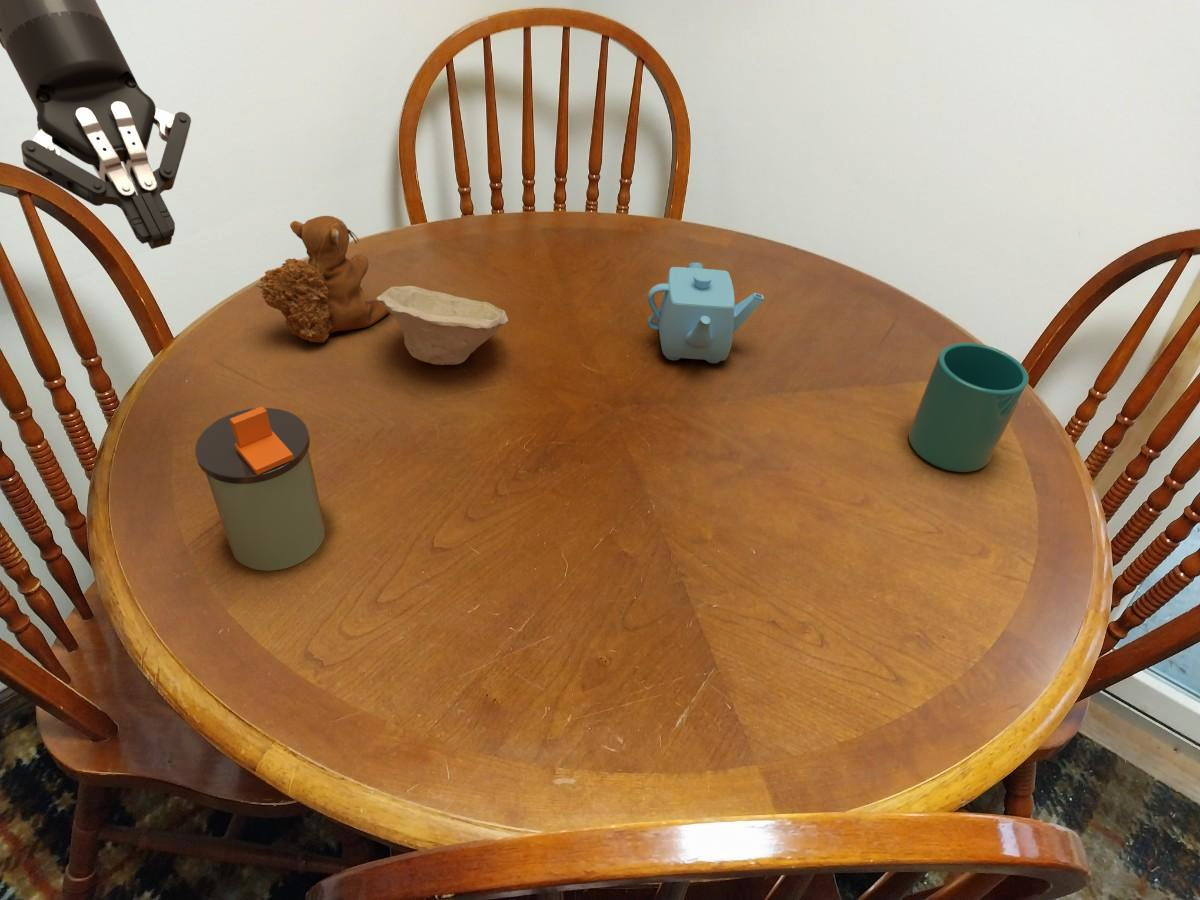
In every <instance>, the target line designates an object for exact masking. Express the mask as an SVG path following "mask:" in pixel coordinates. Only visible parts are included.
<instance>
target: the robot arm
mask: <svg viewBox="0 0 1200 900" xmlns="http://www.w3.org/2000/svg"><path fill="white" fill-rule="evenodd" d="M0 45H1V47H2V49H4V50H5V51H6V54H7V55H8V57H9V60H10V61H11V63H12V65H13V68H15V71H16V73H17V75H18V77H19V79H20V81H21V83H22V84H23V86H24V88H25V91H26V92H27V94H28V96H29V98H30V100H31V102H32V104H33V106H34V108H35V110H36V122H37V123H36V124H37V125H36V126H37V130H38V131H37V132H36V134H34V135H35V136H33V138H32V139H27V140H24V141H22V142H21V145H20V148H21V156H22V163H23V165H24V167H26V168H27V169H28V170H31V172H34V173H36V174H38V175H40V176H42V177H43V178H45V179H47V180H48V181H49V182H51V183H53V184H55V185H57V186H59V187H61V188H63V189H64V190H66V191H68V192H70V193H71V194H73V195H75V196H76V197H79V198H80V199H82V200H84V201H86V202H87V203H89V204H91V205H93V206H95V207H102V206H104V205H113V206H116V207H118V208H119V209H120V210H121V211H122V213H123V215H124V217H125V219H126V220H127V221H126V222H127V223H128V224H129V226H130V228H131V230H132V232H133V234H134V236H135V238H136V240H137V241H139V243H141V245H144V244H148V246H149V247H150V249H151V250H153V249H158V248H161V247H164V246H168V245H171V243H172V239H173V236H174V234H175V230H176V224H175V221H174V218H173V217H172V215H171V212H170V211H169V209H168V207H167V205H166V202H165V201H164V199H163V197H162V195H161V194H162V193H163V192H165V191H170V190H172V189H173V187H174V184H175V180H176V178H177V174H178V171H179V168H180V164H181V161H182V157H183V154H184V150H185V146H186V144H187V140H188V137H189V132H190V129H191V124H192V119H191V117H190V115H189V114H188V113H186V112H185V111H178V112H176V113H175V114H173V113H170V112H169V111H166V110H163V109H161V108H158V107H157V106H156V104H155V101H154V100H153V99H152V98H151V96H150V95H148V94H147V93H146V92H144V91H143V90H142V89H141V87H140V85H139V84H138V82H137V80H136V77H135V76H134V74H133V72H132V70H131V68H130V66H129V63H128V62H127V60H126V58H125V56H124V54H123V52H122V50H121V48H120V46H119V44H118V42H117V40H116V38H115V36H114V34H113V32H112V30H111V28H110V26H109V24H108V22H107V20H106V18H105V15H104V14H103V11H102V10H101V8H100V6H99V4H98V2H97V0H0ZM154 125H155V126H156V127H157V129H158V136H159V138H160V139H161V140H162V141H164V142H165V143H166V144H165V147H164V151H163V154H162V157H161V159H160V164H159V167H157V168H156V169H155V170H154V171H153V169H152V167H151V165H150V162H149V158H148V155H147V149H148V146H149V142H150V140H151V139H150V138H151V134H152V130H153V127H154ZM60 149H62V150H63V151H65V152H66V153H68V154H70V155H71V156H73V157H75V158H76V159H78V160H80V161H81V162H83V163H84V164H87V165H88V166H89V165H90V166H92V167H93V170H94V171H95V173H96V174H97V175H98V177H97V175H95V174H93V173H91V172H90V171H87V170H86V169H84V168H82V167H81V166H79V165H77V164H76V163H74V162H72V161H70V160H68V159H67V158H65V157H63V156H62V151H61V150H60ZM122 164H123V165H122Z"/></svg>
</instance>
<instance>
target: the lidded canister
mask: <svg viewBox="0 0 1200 900" xmlns="http://www.w3.org/2000/svg"><path fill="white" fill-rule="evenodd" d="M256 408H257V407H255V408H254V407H253V408H248V409H243V410H239V411H236V412H233V413H230V414H227V415H225V416H223V417H221V418H219V419H217V420H215V421H213V423H211V424H210V425H208V426H207V427H206V428H205V429H204V430H203V431H202V433H201V434H200V435H199V436H198V438H197V440H196V443H195V450H194V452H195V453H194V454H195V458H196V462H197V464H198V467H199V468H200V469H201V471H203V472H204V473H205V475H206V479H207V482H208V484H209V485H208V486H209V487H210V491H211V494H212V497H213V500H214V503H215V506H216V508H217V509H216V510H217V512H218V515H219V518H220V521H221V524H222V528H223V530H224V533H225V537H226V539H227V542H228V545H229V548H230V552H231V554H232V556H233V558H235V560H236V561H237V562H238V563H240V564H241V565H242V566H244V567H246V568H249V569H251V570H255V571H261V572H270V571H271V572H272V571H273V572H274V571H281V570H285V569H289V568H291V567H294V566H296V565H298V564H301V563H303V562H304V561H306V560H307V559H308V558H310V557H312V556H313V555H314V554H315V553H316V552H317V551H318V550H319V548H320V547H321V545H322V543H323V541H324V538H325V535H326V525H325V522H324V517H323V512H322V507H321V502H320V498H319V494H318V489H317V484H316V480H315V474H314V470H313V465H312V461H311V457H310V451H309V448H310V443H311V441H310V440H311V439H310V435H309V434H310V433H309V429H308V427H307V425H306V423H305V422H304V420H302V419H301V418H300V417H299V416H297V415H296V414H294V413H293V412H290V411H287V410H283V409H280V408H273V407H264V408H265V409H266V411H267V414H268V418H269V422H270V426H271V430H272V431H273V432H274V433H275V435H276V436H277V437H278V438H279V439H280V440H281V441H282V442H283V444H284V445H285V446H286V447H287V448H288V449H289V450H290V451H291V452H292V454H293V457H294V459H293V460H291V461H289V462H286V463H284V464H282V465H279V466H277V467H275V468H272V469H270V470H268V471H266V472H263V473H261V474H259V475H257V474H256V473H255V472H254V471H253V470H252V468H251V467H250V466H249V465H248V464H247V462H246V461H245V460H244V459H243V458H242V456H241V455H240V454H239V453H238V452H237V450H236V449H235V445H234V444H236V440H235V436H234V433H233V429H232V426H231V422H230V419H231V418H233V417H236V416H238V415H241V414H243V413H246V412H249V411H251V410H254V409H256Z"/></svg>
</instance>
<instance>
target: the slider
mask: <svg viewBox="0 0 1200 900" xmlns="http://www.w3.org/2000/svg"><path fill="white" fill-rule="evenodd" d="M255 408H256V409H254V408H253V409H254V410H251V411H249V412H246V413H243V414H241V415H238V416H236V417H233V418H231V419H230V422H231V426H232V429H233V433H234V436H235V440H236V444H234V445H235V449H236V450H237V452H238V453H239V454H240V455H241V456H242V458H243V459H244V460H245V461H246V462H247V464H248V465H249V466H250V467H251V468H252V470H253V471H254V472H255V473H256V474H257V475H259V474H261V473H263V472H266V471H268V470H270V469H272V468H275V467H277V466H279V465H282V464H284V463H286V462H289V461H291V460H293V459H294V457H293V454H292V452H291V451H290V450H289V449H288V448H287V447H286V446H285V445H284V444H283V442H282V441H281V440H280V439H279V438H278V437H277V436H276V435H275V433H274V432H273V431H272V430H271V426H270V422H269V418H268V414H267V411H266V409H265V408H266V407H264V406H263V405H262V406H259V407H255Z"/></svg>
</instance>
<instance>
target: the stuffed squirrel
mask: <svg viewBox="0 0 1200 900" xmlns="http://www.w3.org/2000/svg"><path fill="white" fill-rule="evenodd" d="M289 227H290V230H291V231H292V232H293V233H294V234H295V235H296V236H297V237H298V238H299V239H300V240H301V241H302V243H303V246H304V247H305V249H306V254H307V256H308V257H309V258H308V262H306V261H304V260H301V259H296V258H287V259H285V260H284V262H283V263H282V264H281V265H280V267H276V268H274V269H273V268H272V269H268V270H266V271H264V274H265V275H264V276H262V277H260V279H259V284H255V286H256V287H257V288H259V289H261V290H260V294H261V295H262V296H261V298H263V300H264V303H266V305H268V306H269V307H271V308H273V309H276V310H279V311H280V313H281V314H282V315H283V317H285V321H284V323H285V325H286V327H287V330H288V331H289V332H290V333H291V334H292V335H294V336H297V337H299V338H301V339H302V340H305V341H308V342H310V343H311V342H312V343H319V344H322V343H325V342H326V341H327V340H328V338H329V336H330V334H333V333H336V332H338V331H339V332H344V331H353V330H359V329H363V328H368V327H370V326H372V325H373V324H375V323H377V322H379V321H380V320H381V319H383V318H384V317H385V316H387V315H388V314H389V313H390V312H389V311H388V310H387V309H386V307H385V306H384V305H383V304H382V303H380V302H378V301H377V299H372V300H369V301H366V299H365V298H366V297H365V293H364V290H363V287H361V283H362V280H364V279H363V278H364V277H365V275H366V274H367V272H368V269H369V259H368V257H367V256H366V255H364V254H362V253H356V254H355V255H354V256H353V257H352V258H351V259H349V258H348V257H346V256H347V252H348V248H349V244H350V240H351V238H352V240H353V241H354V244H356V245H357V244H358V242H359V243H361V239H360V238H359V237H358V236H357V235H356V234H355V233H354V232H353V231H352V230H350V229H349V228H348V226H347V224H346V223H344V220H342V219H339V218H337V217H335V216H332V215H320V216H316V217H314V218H311V219H307V220H306V221H305V223H302V222H300V221H297V220H293V221H292V222H290V224H289Z"/></svg>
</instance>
